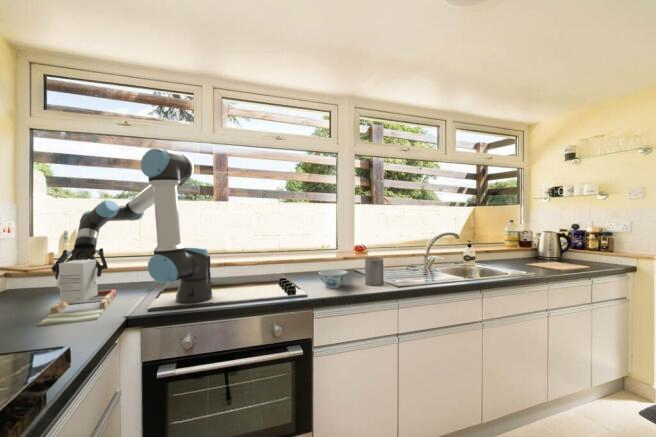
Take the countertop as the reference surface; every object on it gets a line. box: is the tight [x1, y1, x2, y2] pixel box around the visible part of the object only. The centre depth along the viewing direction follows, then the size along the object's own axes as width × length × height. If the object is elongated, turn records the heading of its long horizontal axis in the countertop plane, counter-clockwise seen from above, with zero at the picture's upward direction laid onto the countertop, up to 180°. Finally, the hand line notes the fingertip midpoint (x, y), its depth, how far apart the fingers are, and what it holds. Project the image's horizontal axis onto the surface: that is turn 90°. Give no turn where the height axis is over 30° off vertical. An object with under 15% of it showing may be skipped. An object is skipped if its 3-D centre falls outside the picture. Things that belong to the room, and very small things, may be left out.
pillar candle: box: [364, 256, 385, 287], centre depth 174 cm, size 10×10×15 cm
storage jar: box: [208, 254, 212, 285], centre depth 178 cm, size 10×10×15 cm
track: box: [38, 288, 117, 327], centre depth 134 cm, size 40×17×3 cm, turn 25°
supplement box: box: [59, 259, 99, 302], centre depth 130 cm, size 9×9×15 cm
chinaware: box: [318, 268, 349, 289], centre depth 169 cm, size 15×15×8 cm
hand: (76, 284), depth 127 cm, fingers closed on supplement box, 11 cm apart
